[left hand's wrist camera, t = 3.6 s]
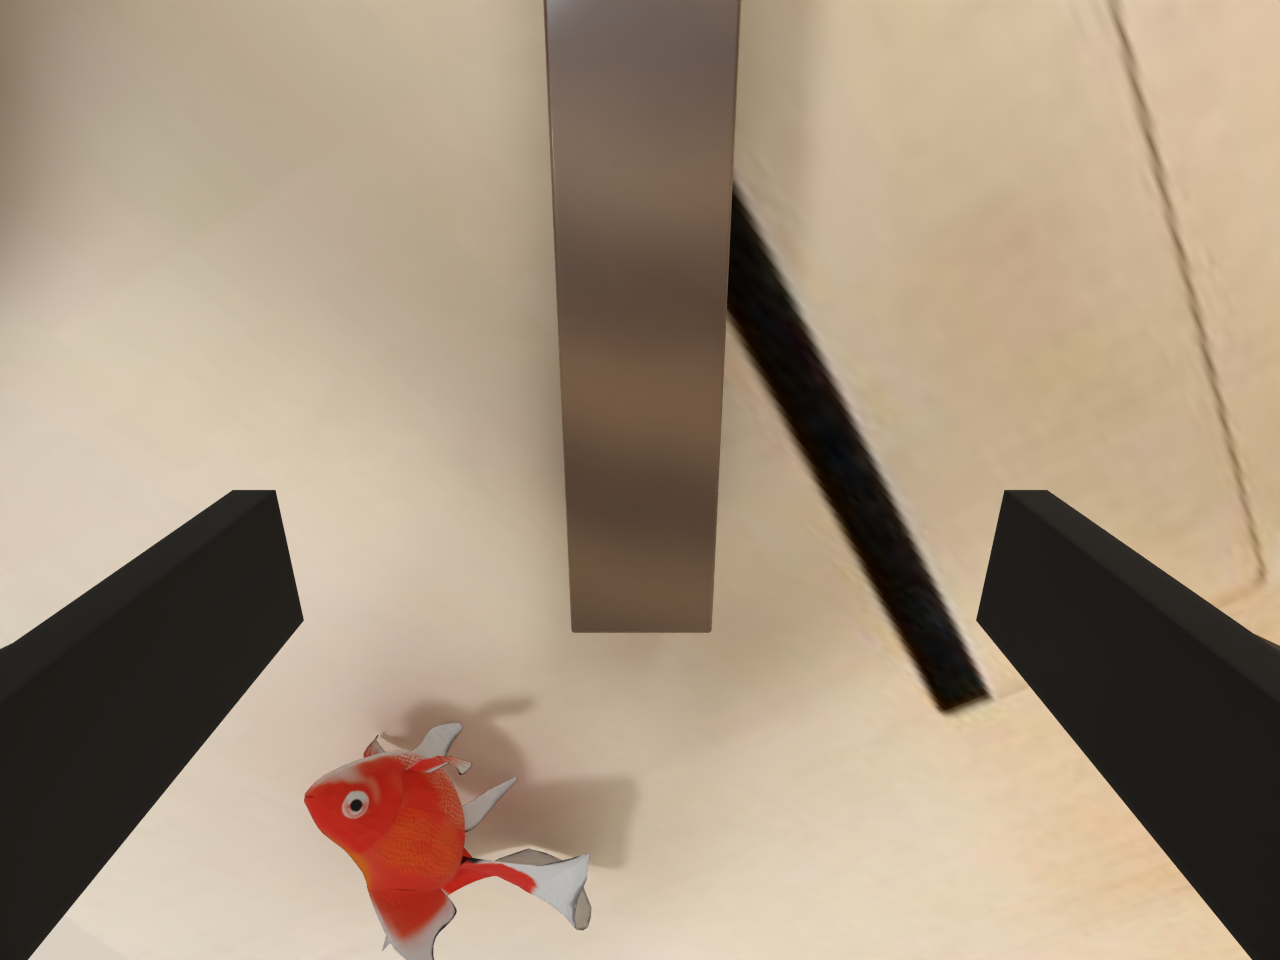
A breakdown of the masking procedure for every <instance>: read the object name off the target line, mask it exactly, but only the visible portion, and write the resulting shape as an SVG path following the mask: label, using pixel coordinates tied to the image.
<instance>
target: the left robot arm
mask: <svg viewBox="0 0 1280 960" xmlns="http://www.w3.org/2000/svg"><path fill="white" fill-rule="evenodd" d="M303 621H304V619H303V615H302V610H301V605H300V601H299V596H298V592H297V587H296V582H295V578H294V573H293V569H292V564H291V559H290V555H289V550H288V546H287V541H286V536H285V532H284V527H283V523H282V518H281V513H280V509H279V504H278V500H277V495H276V490H232V491H231V492H229V493H228V494H227V495H225V496H224V497H222V498H221V499H219V500H218V501H217V502H215V503H214V504H212V505H211V506H209V507H208V508H206V509H205V510H204V511H202V512H201V513H199V514H198V515H196V516H195V517H194V518H192V519H191V520H189V521H188V522H186V523H185V524H183V525H182V526H181V527H179V528H178V529H176V530H175V531H173V532H172V533H171V534H169V535H168V536H166V537H165V538H163V539H162V540H160V541H159V542H158V543H156V544H155V545H153V546H152V547H150V548H149V549H148V550H146V551H145V552H143V553H142V554H140V555H139V556H137V557H136V558H135V559H133V560H132V561H130V562H129V563H127V564H126V565H125V566H123V567H122V568H120V569H119V570H117V571H116V572H114V573H113V574H112V575H110V576H109V577H107V578H106V579H104V580H103V581H102V582H100V583H99V584H97V585H96V586H94V587H93V588H91V589H90V590H89V591H87V592H86V593H84V594H83V595H81V596H80V597H79V598H77V599H76V600H74V601H73V602H71V603H70V604H68V605H67V606H66V607H64V608H63V609H61V610H60V611H58V612H57V613H56V614H54V615H53V616H51V617H50V618H48V619H47V620H45V621H44V622H43V623H41V624H40V625H38V626H37V627H35V628H34V629H32V630H31V631H30V632H28V633H27V634H25V635H24V636H22V637H21V638H20V639H18V640H17V641H15V642H14V643H12V644H10V645H8V646H6V647H4V648H1V649H0V960H28V959H29V958H30V956H31V955H32V954H33V953H34V951H35V950H36V949H37V948H38V947H39V945H40V944H41V943H42V942H43V940H44V939H45V938H46V937H47V935H48V934H49V933H50V932H51V931H52V929H53V928H54V927H55V926H56V924H57V923H58V922H59V921H60V919H61V918H62V917H63V916H64V915H65V913H66V912H67V911H68V910H69V908H70V907H71V906H72V905H73V904H74V902H75V901H76V900H77V899H78V897H79V896H80V895H81V894H82V892H83V891H84V890H85V889H86V888H87V886H88V885H89V884H90V883H91V881H92V880H93V879H94V878H95V876H96V875H97V874H98V873H99V872H100V870H101V869H102V868H103V867H104V865H105V864H106V863H107V862H108V860H109V859H110V858H111V857H112V856H113V854H114V853H115V852H116V851H117V849H118V848H119V847H120V846H121V844H122V843H123V842H124V841H125V840H126V838H127V837H128V836H129V835H130V833H131V832H132V831H133V830H134V829H135V827H136V826H137V825H138V824H139V822H140V821H141V820H142V819H143V817H144V816H145V815H146V814H147V813H148V811H149V810H150V809H151V808H152V806H153V805H154V804H155V803H156V801H157V800H158V799H159V798H160V797H161V795H162V794H163V793H164V792H165V790H166V789H167V788H168V787H169V785H170V784H171V783H172V782H173V781H174V779H175V778H176V777H177V776H178V774H179V773H180V772H181V771H182V769H183V768H184V767H185V766H186V765H187V763H188V762H189V761H190V760H191V758H192V757H193V756H194V755H195V754H196V752H197V751H198V750H199V749H200V747H201V746H202V745H203V744H204V742H205V741H206V740H207V739H208V738H209V736H210V735H211V734H212V733H213V731H214V730H215V729H216V728H217V726H218V725H219V724H220V723H221V722H222V720H223V719H224V718H225V717H226V715H227V714H228V713H229V712H230V710H231V709H232V708H233V707H234V706H235V704H236V703H237V702H238V701H239V699H240V698H241V697H242V696H243V695H244V693H245V692H246V691H247V690H248V688H249V687H250V686H251V685H252V683H253V682H254V681H255V680H256V679H257V677H258V676H259V675H260V674H261V672H262V671H263V670H264V669H265V667H266V666H267V665H268V664H269V663H270V661H271V660H272V659H273V658H274V656H275V655H276V654H277V653H278V651H279V650H280V649H281V648H282V647H283V645H284V644H285V643H286V642H287V640H288V639H289V638H290V637H291V635H292V634H293V633H294V632H295V631H296V629H297V628H298V627H299V626H300V624H301V623H302V622H303ZM976 621H977V622H978V623H979V624H980V626H981V627H982V628H983V629H984V631H985V632H986V633H987V634H988V635H989V637H990V638H991V639H992V640H993V642H994V643H995V644H996V645H997V647H998V648H999V649H1000V650H1001V651H1002V653H1003V654H1004V655H1005V656H1006V658H1007V659H1008V660H1009V661H1010V663H1011V664H1012V665H1013V666H1014V667H1015V669H1016V670H1017V671H1018V672H1019V674H1020V675H1021V676H1022V677H1023V679H1024V680H1025V681H1026V682H1027V683H1028V685H1029V686H1030V687H1031V688H1032V690H1033V691H1034V692H1035V693H1036V695H1037V696H1038V697H1039V698H1040V699H1041V701H1042V702H1043V703H1044V704H1045V706H1046V707H1047V708H1048V709H1049V710H1050V712H1051V713H1052V714H1053V715H1054V717H1055V718H1056V719H1057V720H1058V722H1059V723H1060V724H1061V725H1062V726H1063V728H1064V729H1065V730H1066V731H1067V733H1068V734H1069V735H1070V736H1071V738H1072V739H1073V740H1074V741H1075V742H1076V744H1077V745H1078V746H1079V747H1080V749H1081V750H1082V751H1083V752H1084V754H1085V755H1086V756H1087V757H1088V758H1089V760H1090V761H1091V762H1092V763H1093V765H1094V766H1095V767H1096V768H1097V769H1098V771H1099V772H1100V773H1101V774H1102V776H1103V777H1104V778H1105V779H1106V781H1107V782H1108V783H1109V784H1110V785H1111V787H1112V788H1113V789H1114V790H1115V792H1116V793H1117V794H1118V795H1119V797H1120V798H1121V799H1122V800H1123V801H1124V803H1125V804H1126V805H1127V806H1128V808H1129V809H1130V810H1131V811H1132V813H1133V814H1134V815H1135V816H1136V817H1137V819H1138V820H1139V821H1140V822H1141V824H1142V825H1143V826H1144V827H1145V829H1146V830H1147V831H1148V832H1149V833H1150V835H1151V836H1152V837H1153V838H1154V840H1155V841H1156V842H1157V843H1158V844H1159V846H1160V847H1161V848H1162V849H1163V851H1164V852H1165V853H1166V854H1167V856H1168V857H1169V858H1170V859H1171V860H1172V862H1173V863H1174V864H1175V865H1176V867H1177V868H1178V869H1179V870H1180V872H1181V873H1182V874H1183V875H1184V876H1185V878H1186V879H1187V880H1188V881H1189V883H1190V884H1191V885H1192V886H1193V888H1194V889H1195V890H1196V891H1197V892H1198V894H1199V895H1200V896H1201V897H1202V899H1203V900H1204V901H1205V902H1206V904H1207V905H1208V906H1209V907H1210V908H1211V910H1212V911H1213V912H1214V913H1215V915H1216V916H1217V917H1218V918H1219V919H1220V921H1221V922H1222V923H1223V924H1224V926H1225V927H1226V928H1227V929H1228V931H1229V932H1230V933H1231V934H1232V935H1233V937H1234V938H1235V939H1236V940H1237V942H1238V943H1239V944H1240V945H1241V947H1242V948H1243V949H1244V950H1245V951H1246V953H1247V954H1248V955H1249V956H1250V958H1251V959H1252V960H1280V646H1279V645H1277V644H1274V643H1272V642H1270V641H1268V640H1266V639H1264V638H1262V637H1260V636H1257V635H1255V634H1253V633H1252V632H1250V631H1249V630H1248V629H1246V628H1245V627H1243V626H1242V625H1240V624H1239V623H1237V622H1236V621H1235V620H1233V619H1232V618H1230V617H1229V616H1227V615H1226V614H1224V613H1223V612H1222V611H1220V610H1219V609H1217V608H1216V607H1214V606H1213V605H1212V604H1210V603H1209V602H1207V601H1206V600H1204V599H1203V598H1201V597H1200V596H1199V595H1197V594H1196V593H1194V592H1193V591H1191V590H1190V589H1189V588H1187V587H1186V586H1184V585H1183V584H1181V583H1180V582H1178V581H1177V580H1176V579H1174V578H1173V577H1171V576H1170V575H1168V574H1167V573H1166V572H1164V571H1163V570H1161V569H1160V568H1158V567H1157V566H1155V565H1154V564H1153V563H1151V562H1150V561H1148V560H1147V559H1145V558H1144V557H1143V556H1141V555H1140V554H1138V553H1137V552H1135V551H1134V550H1132V549H1131V548H1130V547H1128V546H1127V545H1125V544H1124V543H1122V542H1121V541H1120V540H1118V539H1117V538H1115V537H1114V536H1112V535H1111V534H1109V533H1108V532H1107V531H1105V530H1104V529H1102V528H1101V527H1099V526H1098V525H1097V524H1095V523H1094V522H1092V521H1091V520H1089V519H1088V518H1086V517H1085V516H1084V515H1082V514H1081V513H1079V512H1078V511H1076V510H1075V509H1074V508H1072V507H1071V506H1069V505H1068V504H1066V503H1065V502H1063V501H1062V500H1061V499H1059V498H1058V497H1056V496H1055V495H1053V494H1052V493H1051V492H1049V491H1048V490H1004V495H1003V500H1002V504H1001V509H1000V513H999V518H998V523H997V527H996V532H995V536H994V541H993V546H992V550H991V555H990V559H989V564H988V569H987V573H986V578H985V582H984V587H983V592H982V596H981V601H980V605H979V610H978V615H977V619H976Z"/></svg>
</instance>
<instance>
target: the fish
mask: <svg viewBox="0 0 1280 960" xmlns="http://www.w3.org/2000/svg"><path fill="white" fill-rule="evenodd" d="M461 730H462V726H461V724H460V723H450V724H444V725H438V726H436V727H434V728H432V729H431V730H430V731H429V732H428V733H427V734H426V736H425V737H424V739H423V741H422V742H421V744H420V745H419V746H418V747H417V748H415V749H414V750H413V751H412V752H408V751H401V750H396V751H388V752H385V751H384V750H383V749H382V747H381V746H380V745H379V744H378V742H377V741H376V740H377V737H378V735H377V736H376V738H375V739H374V741H373V742H372V743H371V744H370V745H369V746H368V747H367V749H366V750H365V752H364V754H363V755H364V758H363V759H360V760H357V761H354V762H352V763H349V764H346V765H344V766H341V767H339V768H337V769H335V770H333V771H331V772H329V773H327V774H326V775H324V776H323V777H321V778H320V779H319V780H317V781H316V782H315V783H314V784H313V785H312V786H311V787H310V788H309V790H308V791H307V792H306V793H305V799H304V802H305V804H306V806H307V808H308V810H309V812H310V814H311V816H312V818H313V820H314V822H315V823H316V825H317V827H318V828H319V829H320V830H321V832H322V833H323V834H324V835H326V836H327V837H328V838H329V839H331V840H332V841H333V842H335V843H336V844H337V845H339V846H340V847H341V848H343V849H344V850H345V851H346V852H347V853H348V854H349V856H350V857H351V858H352V859H353V860H354V862H355V863H356V864H357V866H358V867H359V868H360V870H361V871H362V872H363V874H364V877H365V880H366V882H367V888H368V892H369V895H370V898H371V901H372V903H373V906H374V908H375V911H376V914H377V916H378V918H379V920H380V923H381V925H382V927H383V929H384V932H385V934H386V939H385V942H384V946H383V950H384V949H385V948H386V947H387V945H388V944H389V943H390V942H391V944H392V946H393V947H394V949H395V950H396V951H397V952H398V953H399V954H401V955H402V956H403V957H404V958H405V959H406V960H434V957H433V945H434V941H435V938H436V936H437V935H438V934H439V932H440V931H441V930H442V929H443V928H444V927H445V926H446V925H447V924H449V922H450V921H451V920H452V919H453V918H454V916H455V914H456V912H457V911H456V908H455V906H454V904H453V903H452V901H451V900H450V899H449V898H448V895H449V894H451V893H453V892H454V891H456V890H458V889H460V888H462V887H464V886H465V885H468V884H470V883H472V882H474V881H477V880H480V879H483V878H486V877H491V876H498V877H500V878H502V879H504V880H507V881H509V882H511V883H513V884H515V885H517V886H519V887H520V888H522V889H523V890H525V891H527V892H528V893H530V894H533V895H535V896H537V897H538V898H540V899H541V900H544V901H546V902H547V903H549V904H550V905H551V906H553V907H554V908H555V909H556V910H558V911H559V912H560V913H562V914H563V915H564V916H565V917H566V918H567V919H568V920H569V922H570V923H571V924H572V925H573V927H574V928H575V929H576V930H584V929H586V928H587V927H588V925H589V921H590V918H591V905H590V903H589V900H588V898H587V895H586V893H585V890H584V884H585V882H586V879H587V871H588V864H589V856H590V853H588V854H585V855H581V856H578V857H575V858H572V859H567V860H563V861H562V860H560V859H558V858H556V857H553V856H551V855H549V854H547V853H544V852H540V851H536V850H532V849H526V850H523V851H520V852H517V853H514V854H511V855H508V856H505V857H502V858H500V859H498V860H496V861H489V860H482V859H476V858H472V857H471V855H470V854H469V853H468V852H467V851H466V849H465V848H464V841H465V832H468V831H470V830H471V829H473V828H475V827H476V826H477V825H478V824H479V822H480V821H481V820H482V819H483V818H484V817H485V816H486V814H487V813H488V812H489V811H490V810H491V808H492V807H493V806H494V805H495V804H496V802H497V801H498V800H499V799H500V798H501V797H502V796H503V795H504V793H505V792H506V791H507V790H508V789H509V788H510V787H511V786H512V785H513V784H514V783H515V781H516V777H514V778H512V779H510V780H508V781H506V782H504V783H502V784H500V785H498V786H495V787H494V788H492V789H490V790H488V791H486V792H485V793H483V794H482V795H480V796H479V797H478V798H476V799H475V800H473V801H471V802H470V803H468V804H466V805H463V806H461V803H460V800H459V797H458V794H457V792H456V789H455V787H454V785H453V783H452V782H451V780H450V779H449V777H448V776H447V774H446V772H445V771H444V770H443V769H442V767H443V766H445V765H446V764H449V763H450V764H451V765H453V766H454V767H456V768H457V770H458V771H459V774H460V775H462V774H465V773H466V772H467V771H468V770H469V769H470V768H471V766H472V763H470V762H466V761H463V760H461V759H458V758H455V757H452V756H447V757H445V756H446V754H447V751H448V749H449V747H450V745H451V743H452V742H453V740H454V739H455V737H456V736H457V735H458V734H459V732H460V731H461ZM383 950H382V951H383Z"/></svg>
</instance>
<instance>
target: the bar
mask: <svg viewBox="0 0 1280 960" xmlns="http://www.w3.org/2000/svg"><path fill="white" fill-rule="evenodd" d="M543 1H544V23H545V45H546V68H547V90H548V113H549V135H550V158H551V180H552V202H553V225H554V247H555V270H556V292H557V315H558V337H559V359H560V382H561V404H562V427H563V449H564V472H565V494H566V517H567V539H568V561H569V584H570V606H571V629H572V632H574V633H709V632H711V630H712V610H713V589H714V567H715V546H716V524H717V503H718V482H719V460H720V439H721V417H722V396H723V374H724V353H725V331H726V310H727V288H728V267H729V245H730V224H731V203H732V181H733V160H734V138H735V117H736V95H737V74H738V52H739V31H740V9H741V0H543Z"/></svg>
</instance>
